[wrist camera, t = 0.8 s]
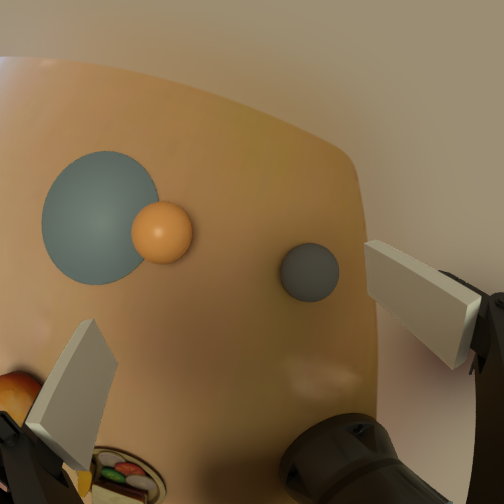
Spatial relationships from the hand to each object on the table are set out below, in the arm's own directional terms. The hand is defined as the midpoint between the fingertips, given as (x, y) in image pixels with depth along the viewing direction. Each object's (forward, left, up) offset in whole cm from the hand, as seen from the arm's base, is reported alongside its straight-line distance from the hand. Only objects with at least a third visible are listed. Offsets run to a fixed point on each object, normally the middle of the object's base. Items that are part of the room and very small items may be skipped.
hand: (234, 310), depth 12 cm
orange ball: (+7, +2, -13) cm, 15 cm away
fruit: (+2, +28, -16) cm, 32 cm away
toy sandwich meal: (-14, +27, -16) cm, 35 cm away
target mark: (+13, +7, -16) cm, 21 cm away
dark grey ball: (-4, -7, -13) cm, 15 cm away
